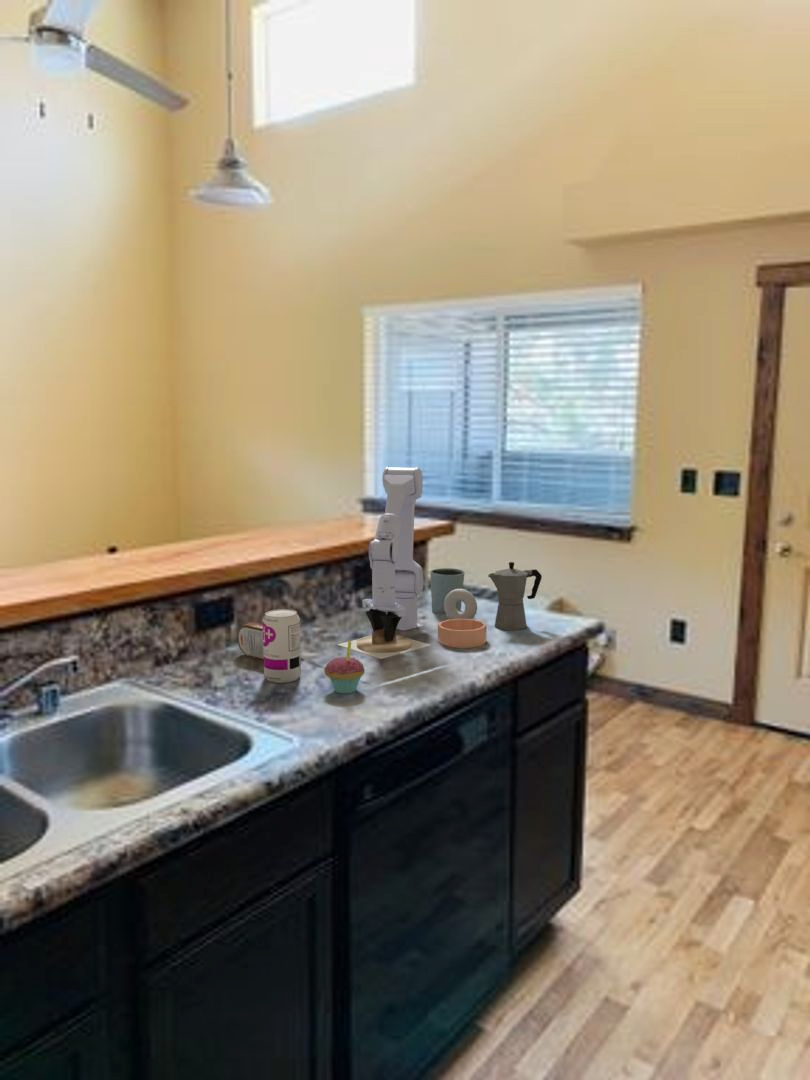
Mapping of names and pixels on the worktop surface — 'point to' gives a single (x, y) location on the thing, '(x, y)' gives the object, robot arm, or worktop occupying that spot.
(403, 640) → the lid
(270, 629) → the supplement can
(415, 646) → the mat
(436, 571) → the teal cup
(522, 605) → the coffeepot
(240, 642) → the tin
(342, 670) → the cupcake
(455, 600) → the donut
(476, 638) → the bowl
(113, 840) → the worktop surface
